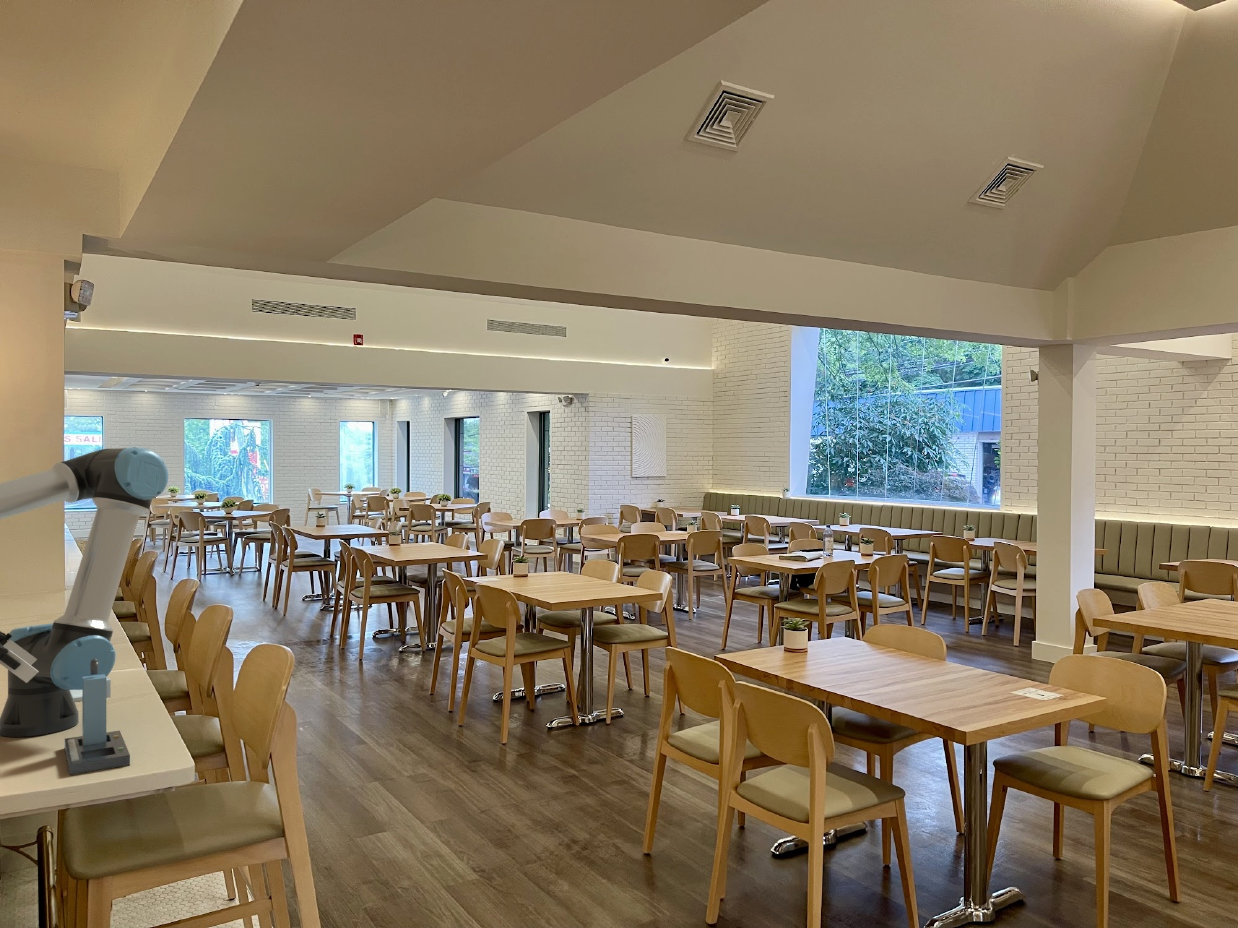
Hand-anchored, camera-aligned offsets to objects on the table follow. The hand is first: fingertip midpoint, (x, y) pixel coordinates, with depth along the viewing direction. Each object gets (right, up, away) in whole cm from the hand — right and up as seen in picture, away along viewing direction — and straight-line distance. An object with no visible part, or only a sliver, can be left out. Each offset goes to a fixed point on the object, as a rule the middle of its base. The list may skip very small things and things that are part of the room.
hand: (32, 670), depth 177 cm
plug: (+9, -18, +6) cm, 21 cm away
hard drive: (-21, -19, +51) cm, 58 cm away
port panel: (+12, -18, +2) cm, 21 cm away
